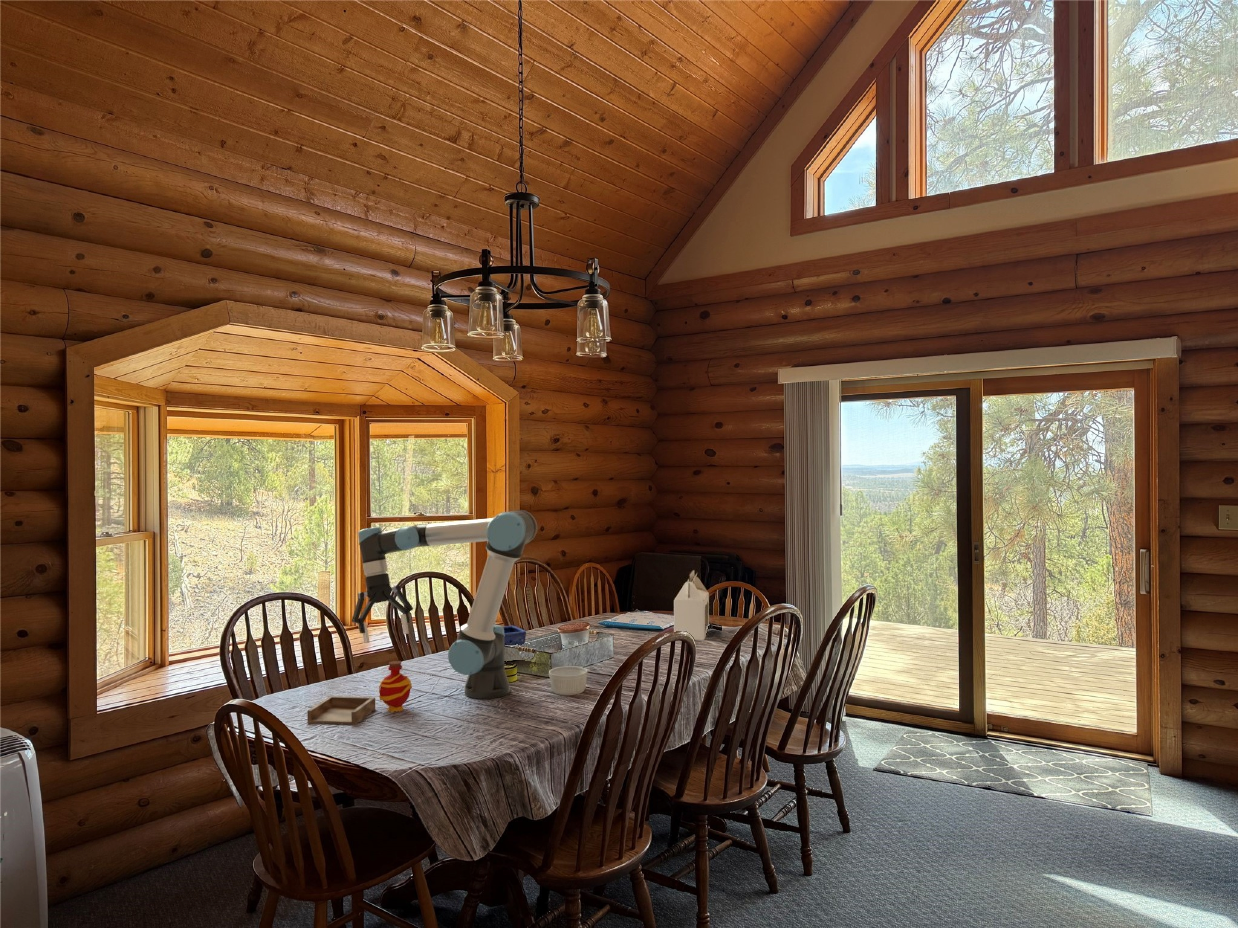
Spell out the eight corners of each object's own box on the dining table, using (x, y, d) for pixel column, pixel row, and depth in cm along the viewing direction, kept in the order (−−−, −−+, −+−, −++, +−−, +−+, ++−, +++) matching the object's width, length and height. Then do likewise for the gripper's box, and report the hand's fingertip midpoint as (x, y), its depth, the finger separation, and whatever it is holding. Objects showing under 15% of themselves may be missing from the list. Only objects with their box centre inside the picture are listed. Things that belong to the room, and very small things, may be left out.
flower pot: (495, 665, 316) (495, 634, 315) (482, 658, 327) (482, 628, 327) (527, 661, 322) (527, 630, 322) (513, 654, 334) (513, 624, 334)
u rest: (330, 707, 263) (330, 695, 263) (375, 709, 261) (375, 697, 261) (307, 722, 248) (307, 710, 248) (355, 724, 246) (355, 711, 246)
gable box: (704, 640, 358) (703, 576, 357) (673, 639, 360) (673, 575, 360) (708, 629, 380) (708, 569, 379) (680, 628, 382) (680, 568, 382)
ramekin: (543, 695, 277) (543, 674, 277) (555, 684, 290) (555, 664, 289) (581, 697, 274) (581, 676, 274) (592, 686, 286) (592, 666, 286)
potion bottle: (403, 715, 255) (403, 667, 255) (372, 713, 257) (372, 665, 257) (418, 705, 265) (417, 659, 265) (388, 703, 267) (388, 657, 267)
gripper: (406, 568, 283) (417, 630, 281) (335, 582, 268) (345, 647, 266) (416, 566, 277) (426, 629, 276) (343, 580, 262) (354, 646, 260)
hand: (386, 638), depth 271 cm, fingers open, 13 cm apart
